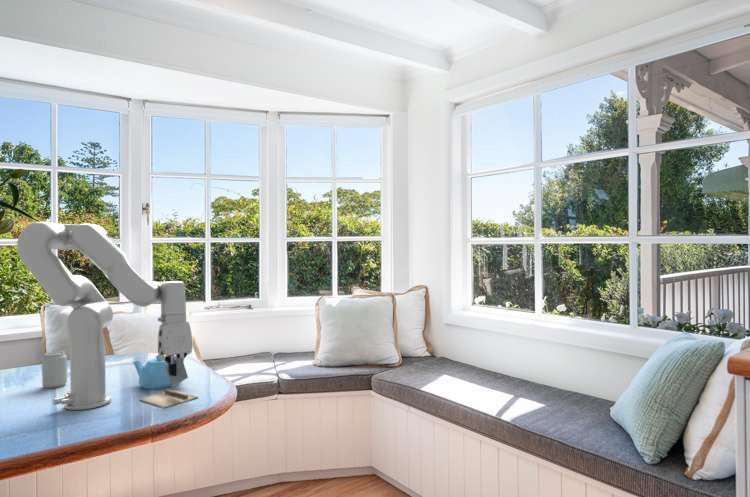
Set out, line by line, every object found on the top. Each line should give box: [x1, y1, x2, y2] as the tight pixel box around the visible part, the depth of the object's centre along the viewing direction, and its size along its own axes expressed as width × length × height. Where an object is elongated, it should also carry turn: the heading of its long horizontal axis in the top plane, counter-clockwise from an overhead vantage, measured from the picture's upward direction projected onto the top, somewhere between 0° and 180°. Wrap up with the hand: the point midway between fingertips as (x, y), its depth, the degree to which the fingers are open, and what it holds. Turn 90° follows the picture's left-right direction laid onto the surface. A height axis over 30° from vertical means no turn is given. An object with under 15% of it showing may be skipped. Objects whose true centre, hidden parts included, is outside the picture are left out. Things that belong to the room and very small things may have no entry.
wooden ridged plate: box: [139, 388, 199, 409], centre depth 156 cm, size 12×14×2 cm
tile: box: [166, 357, 189, 388], centre depth 157 cm, size 2×8×7 cm, turn 54°
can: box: [41, 350, 68, 389], centre depth 174 cm, size 8×8×12 cm
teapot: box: [133, 354, 176, 390], centre depth 173 cm, size 15×15×11 cm
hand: (175, 374), depth 158 cm, fingers closed on tile, 1 cm apart
